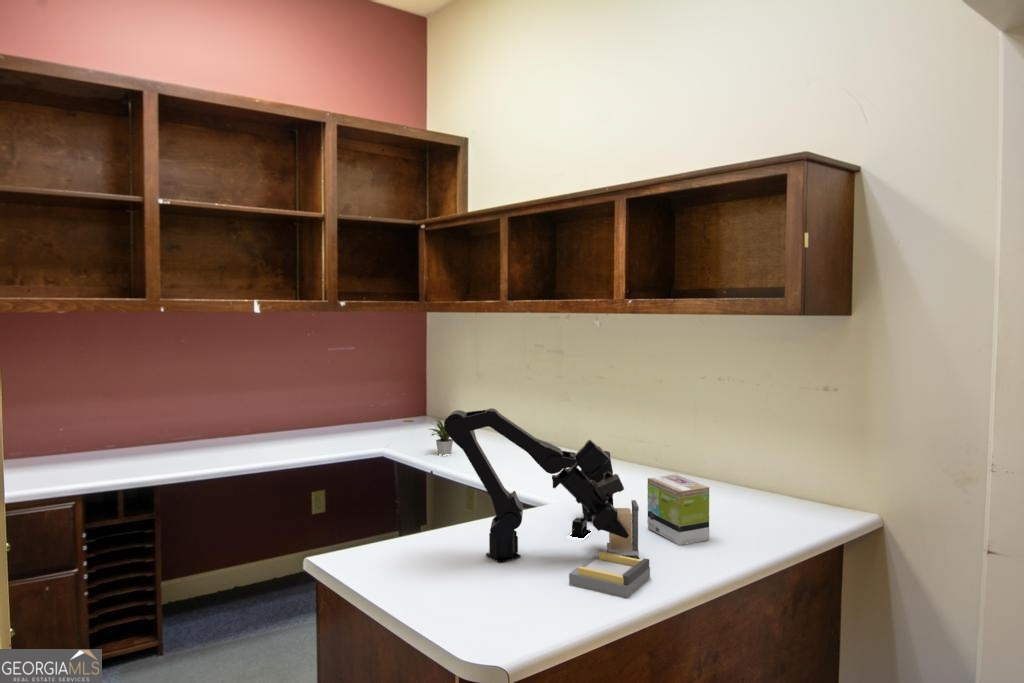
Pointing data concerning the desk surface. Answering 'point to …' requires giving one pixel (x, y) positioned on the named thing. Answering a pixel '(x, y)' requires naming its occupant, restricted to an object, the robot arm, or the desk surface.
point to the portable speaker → (597, 481)
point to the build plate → (579, 528)
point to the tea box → (678, 509)
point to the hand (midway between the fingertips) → (625, 531)
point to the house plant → (442, 439)
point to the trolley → (630, 524)
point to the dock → (611, 574)
